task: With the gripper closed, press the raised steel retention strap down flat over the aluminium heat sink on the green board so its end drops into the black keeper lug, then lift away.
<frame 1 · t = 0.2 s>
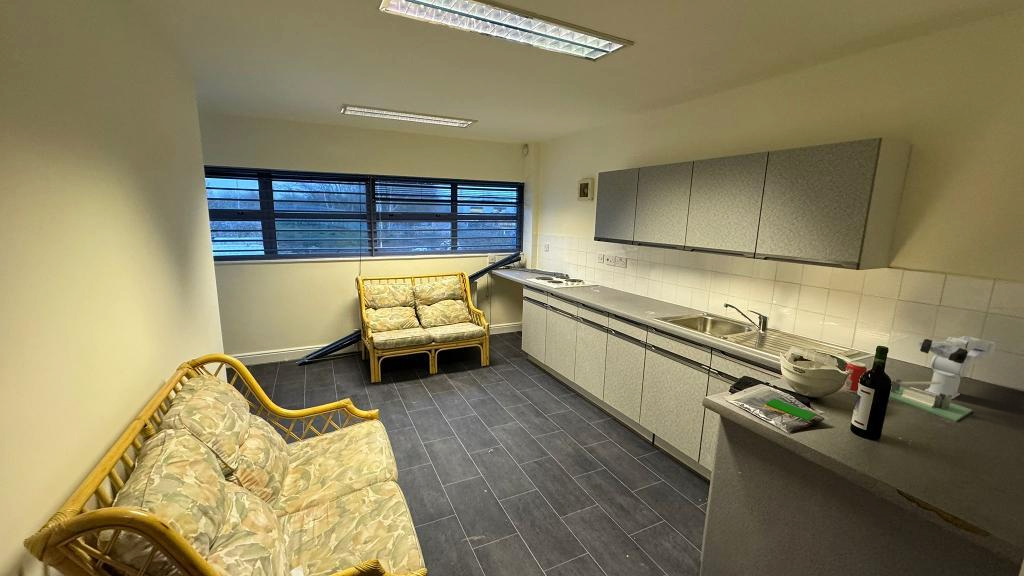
hand: (936, 353, 151), 21 cm above the counter, tool horizontal, fingers open, 7 cm apart
dish sponge: (788, 414, 147), on the counter
heatsink board: (920, 401, 157), on the counter
beverage can: (851, 390, 166), on the counter
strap: (918, 383, 157), point 7 cm above the counter, hinge at 25.0°
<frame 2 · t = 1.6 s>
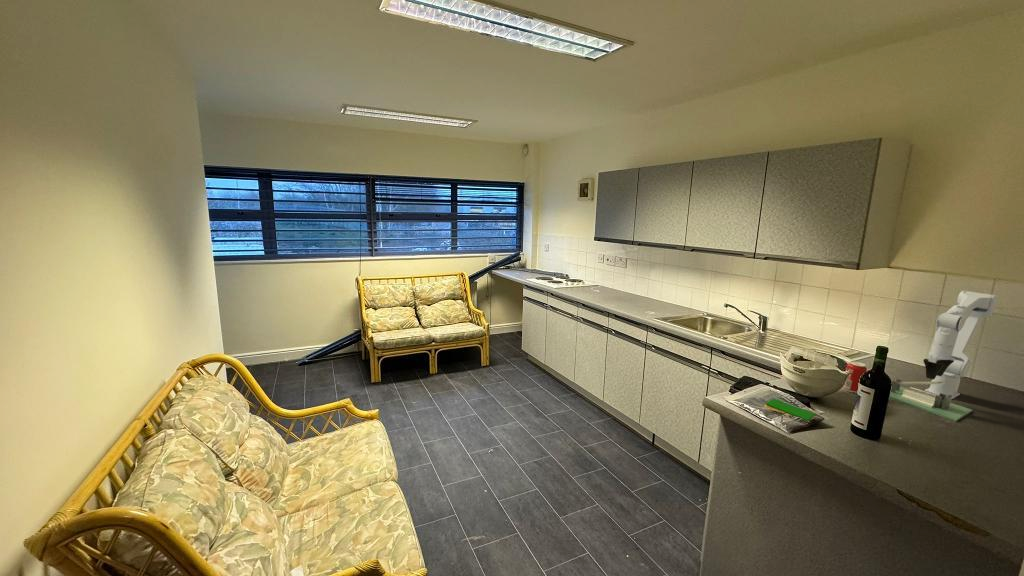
hand: (933, 376, 156), 10 cm above the counter, tool pointing down, fingers open, 7 cm apart
nothing on the counter moved.
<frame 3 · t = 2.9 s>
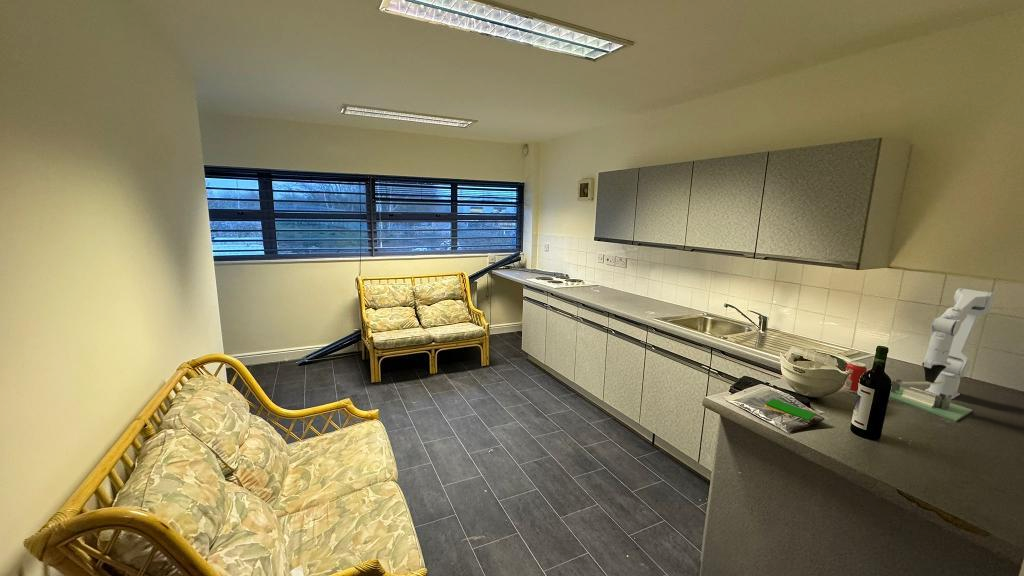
hand: (929, 381, 154), 9 cm above the counter, tool pointing down, fingers closed, pressing on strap
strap: (918, 383, 157), point 7 cm above the counter, hinge at 24.8°, touching gripper
everything else where it was.
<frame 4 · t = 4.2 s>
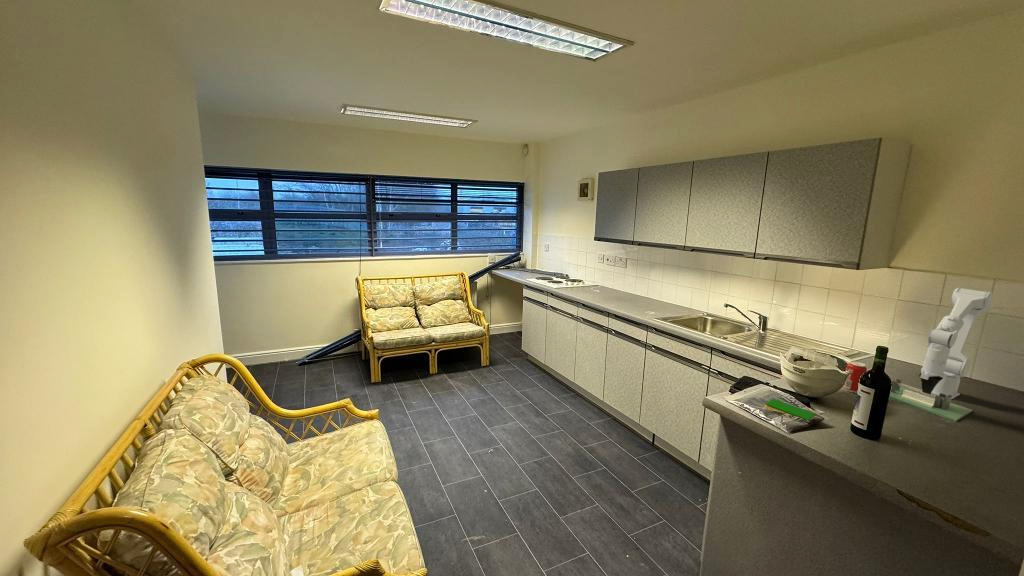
hand: (926, 392, 155), 4 cm above the counter, tool pointing down, fingers closed, pressing on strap
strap: (918, 390, 157), point 4 cm above the counter, hinge at -0.5°, touching gripper
everything else where it was.
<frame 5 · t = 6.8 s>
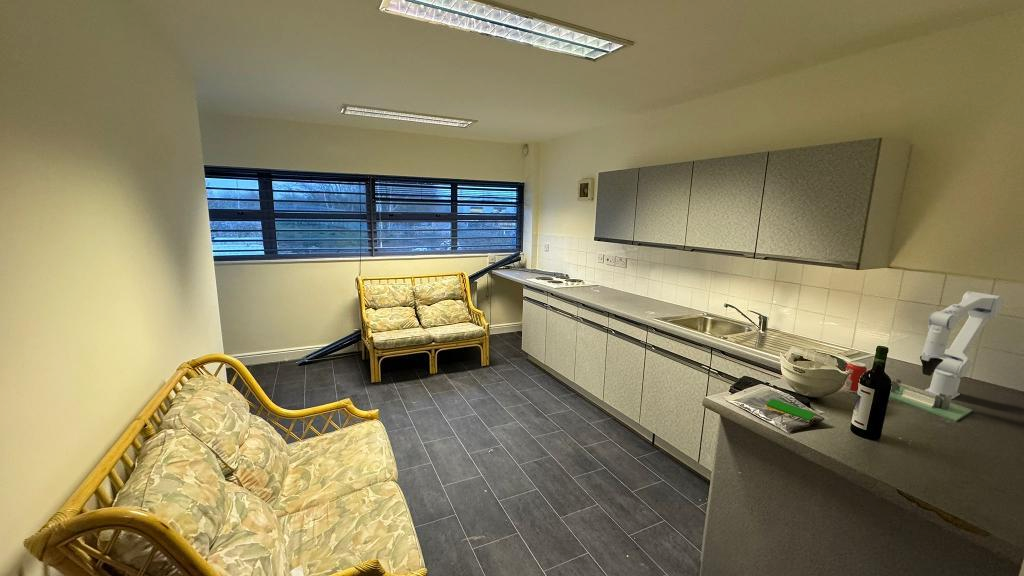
hand: (926, 374, 158), 10 cm above the counter, tool pointing down, fingers closed
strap: (918, 390, 157), point 4 cm above the counter, hinge at -0.5°
everything else where it was.
at the end: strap at +0° (first picture: +25°) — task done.
